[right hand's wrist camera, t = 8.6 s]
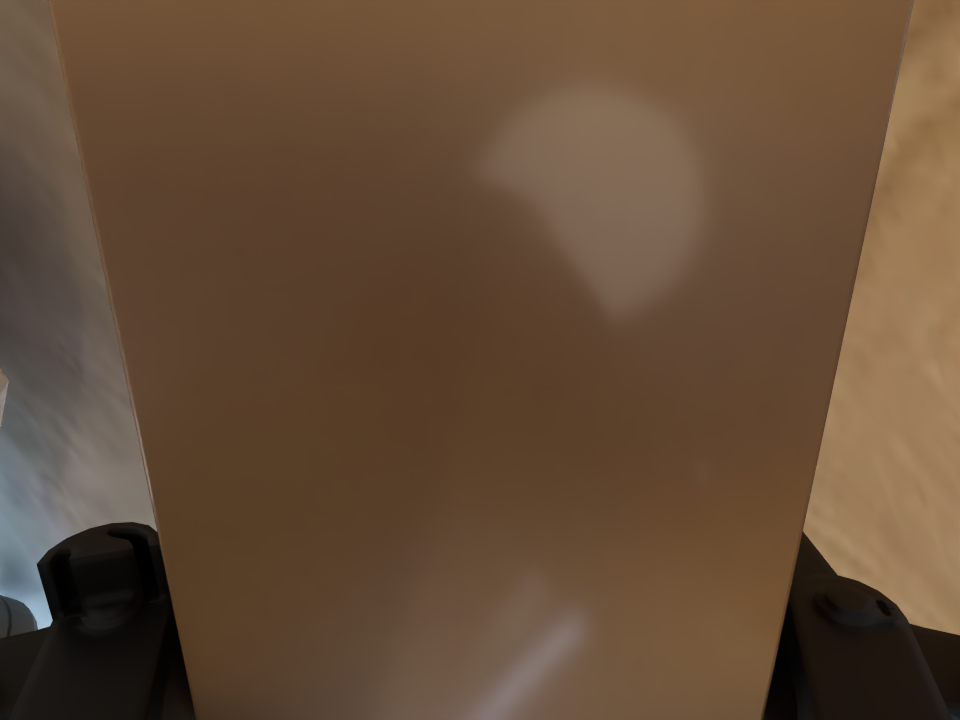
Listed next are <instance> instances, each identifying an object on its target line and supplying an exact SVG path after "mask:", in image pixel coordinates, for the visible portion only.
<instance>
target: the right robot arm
mask: <svg viewBox="0 0 960 720" xmlns="http://www.w3.org/2000/svg"><path fill="white" fill-rule="evenodd" d="M37 567H38V571H39V574H40V578H41V581H42V585H43V588H44V591H45V595H46V598H47V602H48V605H49V609H50V612H51V616H52V619H53V621H52V623H51V626H50V627H47V628H43V629H39V630H36V631H31V632H26V633H22V634H17V635H13V636H8V637H4V638H0V720H196V716H195V711H194V706H193V702H192V697H191V692H190V687H189V682H188V677H187V673H186V668H185V663H184V658H183V653H182V648H181V643H180V639H179V634H178V629H177V624H176V619H175V614H174V609H173V605H172V600H171V595H170V590H169V585H168V580H167V576H166V571H165V566H164V561H163V556H162V551H161V546H160V542H159V537H158V532H156V531H155V530H154V529H153V528H151V527H150V526H149V525H144V524H140V523H135V522H125V523H111V524H107V525H103V526H98V527H94V528H90V529H87V530H85V531H83V532H80V533H78V534H76V535H73V536H71V537H69V538H66V539H65V540H63V541H62V542H60V543H59V544H57V545H56V546H54V547H53V548H51V549H50V550H48V552H47V553H46V554H45V555H44V556H43V557H42V559H41V560H40V561H39V562H38V563H37ZM763 720H960V635H956V634H951V633H946V632H942V631H937V630H933V629H928V628H923V627H920V626H916V625H913V624H909V622H908V620H907V618H906V617H905V616H904V614H903V613H902V612H901V610H900V609H899V607H898V606H897V605H896V604H895V603H894V602H892V601H891V600H890V599H888V598H887V597H886V596H885V595H883V594H882V593H881V592H879V591H878V590H875V589H873V588H871V587H869V586H867V585H865V584H863V583H861V582H859V581H856V580H853V579H849V578H845V577H842V576H838V575H837V574H836V573H835V571H834V570H833V569H832V568H831V566H830V565H829V564H828V563H827V561H826V560H825V559H824V558H823V556H822V555H821V554H820V552H819V551H818V550H817V549H816V547H815V546H814V545H813V544H812V542H811V541H810V540H809V539H808V537H807V536H806V535H805V534H804V532H802V537H801V541H800V546H799V551H798V556H797V560H796V565H795V570H794V575H793V579H792V584H791V589H790V594H789V599H788V603H787V608H786V613H785V618H784V622H783V627H782V632H781V637H780V641H779V646H778V651H777V656H776V661H775V665H774V670H773V675H772V680H771V684H770V689H769V694H768V699H767V703H766V708H765V713H764V718H763Z"/></svg>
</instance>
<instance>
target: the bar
mask: <svg viewBox="0 0 960 720" xmlns="http://www.w3.org/2000/svg"><path fill="white" fill-rule="evenodd" d="M913 2H914V0H48V3H49V8H50V13H51V18H52V23H53V27H54V32H55V37H56V42H57V47H58V52H59V57H60V61H61V66H62V71H63V76H64V81H65V86H66V91H67V95H68V100H69V105H70V110H71V115H72V120H73V124H74V129H75V134H76V139H77V144H78V149H79V154H80V158H81V163H82V168H83V173H84V178H85V183H86V188H87V192H88V197H89V202H90V207H91V212H92V217H93V221H94V226H95V231H96V236H97V241H98V246H99V251H100V255H101V260H102V265H103V270H104V275H105V280H106V285H107V289H108V294H109V299H110V304H111V309H112V314H113V318H114V323H115V328H116V333H117V338H118V343H119V348H120V352H121V357H122V362H123V367H124V372H125V377H126V382H127V386H128V391H129V396H130V401H131V406H132V411H133V415H134V420H135V425H136V430H137V435H138V440H139V445H140V449H141V454H142V459H143V464H144V469H145V474H146V479H147V483H148V488H149V493H150V498H151V503H152V508H153V512H154V517H155V522H156V527H157V532H158V537H159V542H160V546H161V551H162V556H163V561H164V566H165V571H166V576H167V580H168V585H169V590H170V595H171V600H172V605H173V609H174V614H175V619H176V624H177V629H178V634H179V639H180V643H181V648H182V653H183V658H184V663H185V668H186V673H187V677H188V682H189V687H190V692H191V697H192V702H193V706H194V711H195V716H196V720H763V718H764V713H765V708H766V703H767V699H768V694H769V689H770V684H771V680H772V675H773V670H774V665H775V661H776V656H777V651H778V646H779V641H780V637H781V632H782V627H783V622H784V618H785V613H786V608H787V603H788V599H789V594H790V589H791V584H792V579H793V575H794V570H795V565H796V560H797V556H798V551H799V546H800V541H801V537H802V532H803V527H804V522H805V517H806V513H807V508H808V503H809V498H810V494H811V489H812V484H813V479H814V475H815V470H816V465H817V460H818V455H819V451H820V446H821V441H822V436H823V432H824V427H825V422H826V417H827V413H828V408H829V403H830V398H831V393H832V389H833V384H834V379H835V374H836V370H837V365H838V360H839V355H840V351H841V346H842V341H843V336H844V331H845V327H846V322H847V317H848V312H849V308H850V303H851V298H852V293H853V289H854V284H855V279H856V274H857V269H858V265H859V260H860V255H861V250H862V246H863V241H864V236H865V231H866V227H867V222H868V217H869V212H870V207H871V203H872V198H873V193H874V188H875V184H876V179H877V174H878V169H879V164H880V160H881V155H882V150H883V145H884V141H885V136H886V131H887V126H888V122H889V117H890V112H891V107H892V102H893V98H894V93H895V88H896V83H897V79H898V74H899V69H900V64H901V60H902V55H903V50H904V45H905V40H906V36H907V31H908V26H909V21H910V17H911V12H912V7H913Z"/></svg>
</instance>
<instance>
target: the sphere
mask: <svg viewBox="0 0 960 720" xmlns="http://www.w3.org/2000/svg"><path fill="white" fill-rule="evenodd" d="M8 383H9V380H8V379H7V377H6V376H5V374H4V373H3V371H2V370H1V368H0V428H1V423H2V417H3V411H4V406H5V400H6V395H7V389H8ZM36 630H38V627H37V622H36V620H35V618H34V616H33V614H32V613H31V611H30V610H29V608H28V607H27V606H26V605H25V604H24V603H22V602H20V601H18V600H15V599H12V598H8V597H5V596H2V595H0V638H4V637H8V636H13V635H17V634H22V633H26V632H31V631H36Z"/></svg>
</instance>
